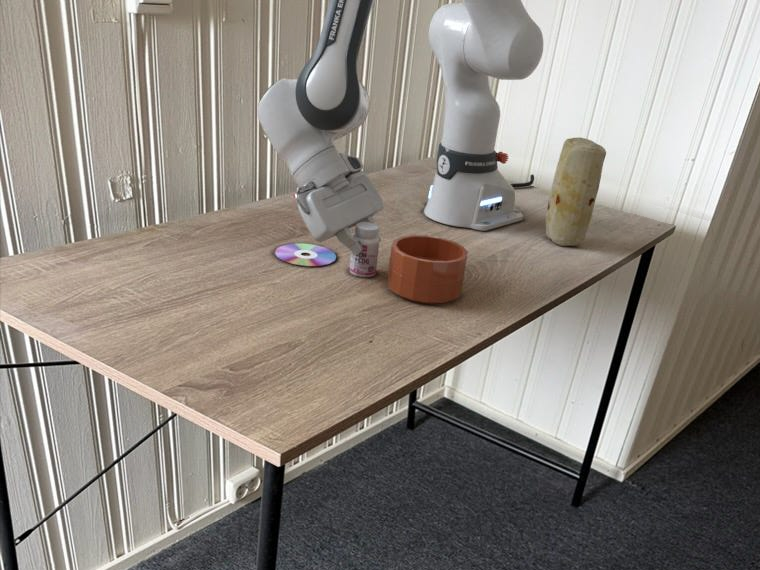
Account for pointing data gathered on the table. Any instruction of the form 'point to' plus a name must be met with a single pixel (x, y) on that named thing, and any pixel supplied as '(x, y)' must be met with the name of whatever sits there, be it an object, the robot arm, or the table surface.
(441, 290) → the pot
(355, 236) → the pill bottle
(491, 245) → the table surface
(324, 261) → the cd
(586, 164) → the food model
